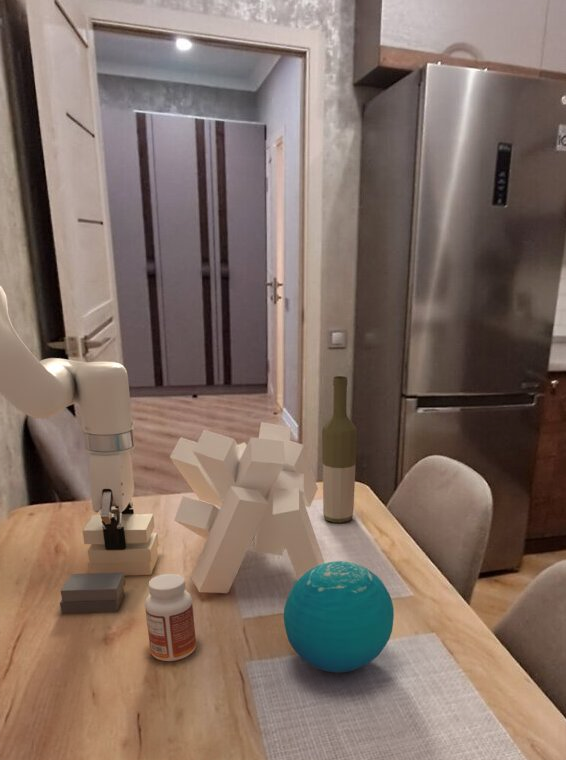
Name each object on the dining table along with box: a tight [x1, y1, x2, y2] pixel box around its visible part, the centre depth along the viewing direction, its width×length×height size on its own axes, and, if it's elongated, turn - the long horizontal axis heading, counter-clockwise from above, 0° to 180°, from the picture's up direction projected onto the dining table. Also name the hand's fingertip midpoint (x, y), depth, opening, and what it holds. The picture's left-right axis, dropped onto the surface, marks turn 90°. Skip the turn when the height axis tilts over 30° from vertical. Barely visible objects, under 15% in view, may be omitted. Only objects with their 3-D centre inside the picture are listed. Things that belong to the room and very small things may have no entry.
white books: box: [87, 532, 159, 577], centre depth 116 cm, size 10×7×5 cm
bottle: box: [321, 375, 358, 524], centre depth 136 cm, size 7×7×30 cm
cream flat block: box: [82, 513, 155, 545], centre depth 114 cm, size 10×7×2 cm
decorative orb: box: [283, 560, 395, 674], centre depth 91 cm, size 15×15×15 cm
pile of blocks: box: [169, 421, 325, 594], centre depth 115 cm, size 35×30×35 cm
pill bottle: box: [144, 573, 197, 662], centre depth 92 cm, size 6×6×11 cm
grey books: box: [59, 573, 126, 615], centre depth 104 cm, size 8×6×4 cm
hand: (120, 538), depth 115 cm, fingers closed on cream flat block, 7 cm apart
